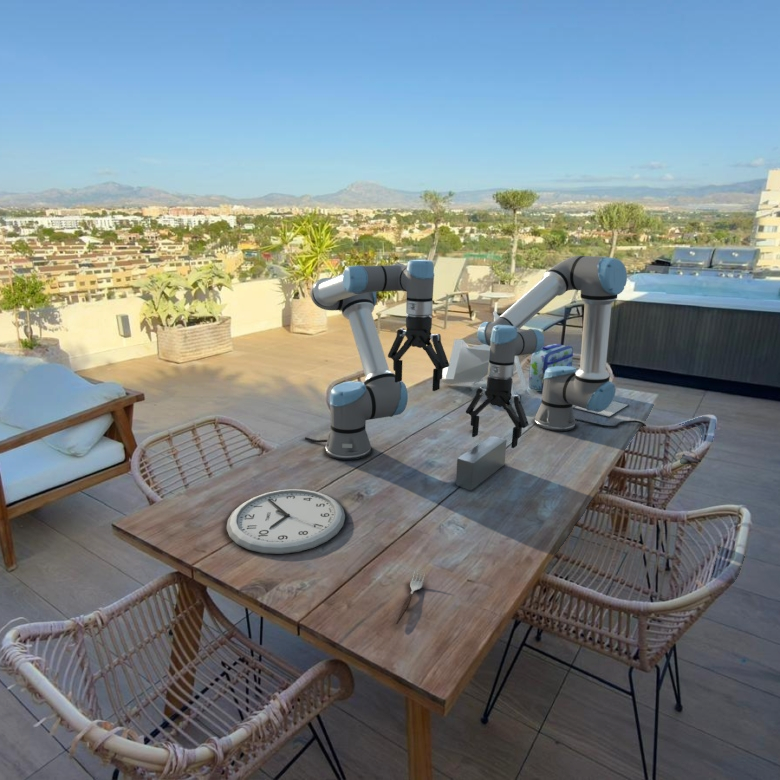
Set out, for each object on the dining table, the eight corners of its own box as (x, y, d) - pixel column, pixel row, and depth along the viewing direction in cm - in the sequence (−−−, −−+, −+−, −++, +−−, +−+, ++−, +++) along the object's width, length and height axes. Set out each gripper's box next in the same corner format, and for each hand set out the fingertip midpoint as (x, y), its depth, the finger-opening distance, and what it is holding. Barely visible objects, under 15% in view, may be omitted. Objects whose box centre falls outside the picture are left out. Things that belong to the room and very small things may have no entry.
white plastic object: (461, 429, 252) (437, 405, 227) (444, 352, 274) (420, 323, 250) (535, 404, 240) (518, 377, 215) (510, 326, 262) (492, 293, 237)
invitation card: (608, 416, 214) (573, 407, 224) (608, 416, 214) (573, 408, 224) (628, 404, 229) (594, 396, 238) (628, 405, 229) (594, 397, 238)
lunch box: (545, 396, 239) (550, 351, 232) (524, 391, 246) (528, 347, 240) (572, 385, 256) (577, 343, 250) (552, 380, 263) (557, 339, 257)
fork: (390, 624, 100) (390, 615, 100) (415, 574, 115) (415, 567, 114) (403, 627, 99) (403, 619, 99) (426, 577, 114) (426, 569, 113)
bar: (489, 460, 172) (491, 435, 170) (504, 464, 169) (506, 439, 167) (455, 485, 155) (457, 458, 153) (471, 490, 152) (473, 463, 150)
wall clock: (345, 545, 122) (213, 550, 119) (345, 551, 122) (214, 556, 120) (344, 484, 150) (238, 487, 148) (345, 490, 151) (239, 492, 148)
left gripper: (377, 312, 155) (376, 380, 161) (449, 321, 141) (445, 396, 147) (392, 309, 161) (390, 375, 167) (463, 318, 147) (459, 390, 153)
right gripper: (458, 371, 163) (453, 434, 170) (534, 386, 149) (526, 455, 155) (469, 367, 169) (465, 428, 175) (544, 381, 155) (536, 447, 161)
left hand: (416, 385), depth 157 cm, fingers open, 13 cm apart
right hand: (494, 441), depth 165 cm, fingers open, 13 cm apart
